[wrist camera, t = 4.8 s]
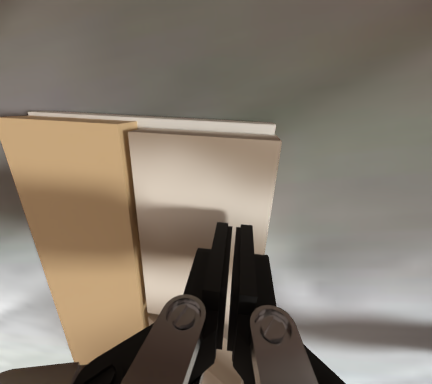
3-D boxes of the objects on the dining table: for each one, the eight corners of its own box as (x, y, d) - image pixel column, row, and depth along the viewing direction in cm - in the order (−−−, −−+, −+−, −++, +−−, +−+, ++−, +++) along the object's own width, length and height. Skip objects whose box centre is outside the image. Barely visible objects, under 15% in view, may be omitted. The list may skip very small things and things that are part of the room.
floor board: (50, 111, 14) (-11, 112, 10) (271, 122, 13) (282, 128, 9) (107, 357, 23) (85, 399, 20) (237, 377, 22) (237, 425, 19)
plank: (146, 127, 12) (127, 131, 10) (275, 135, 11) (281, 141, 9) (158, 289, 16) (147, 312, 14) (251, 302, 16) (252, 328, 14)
